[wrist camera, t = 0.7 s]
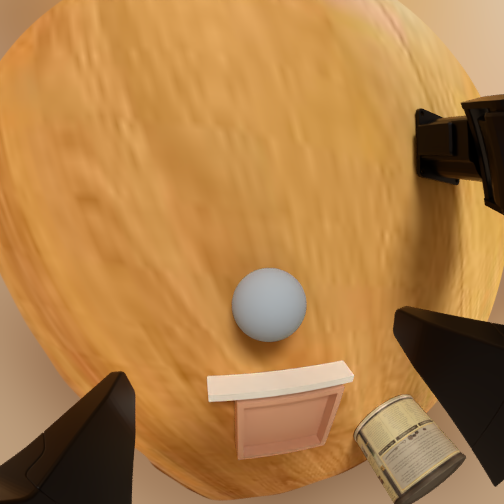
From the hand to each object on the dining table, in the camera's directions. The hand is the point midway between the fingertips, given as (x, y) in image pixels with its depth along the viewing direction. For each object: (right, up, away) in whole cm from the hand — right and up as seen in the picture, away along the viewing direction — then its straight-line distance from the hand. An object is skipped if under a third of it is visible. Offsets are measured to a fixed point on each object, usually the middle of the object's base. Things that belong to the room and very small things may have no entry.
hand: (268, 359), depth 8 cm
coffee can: (+18, -21, +22) cm, 35 cm away
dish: (+3, -14, +17) cm, 22 cm away
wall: (+2, -8, +15) cm, 17 cm away
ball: (0, 0, +13) cm, 13 cm away
